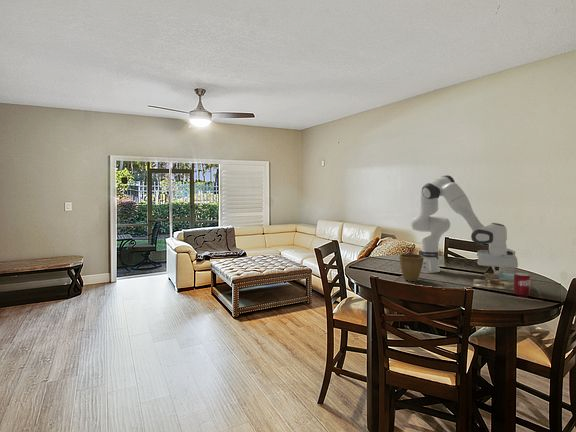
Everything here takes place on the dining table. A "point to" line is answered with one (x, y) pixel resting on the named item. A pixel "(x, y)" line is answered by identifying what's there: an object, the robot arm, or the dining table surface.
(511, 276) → the lid
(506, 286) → the board
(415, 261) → the plant pot
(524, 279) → the soda can
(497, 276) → the block
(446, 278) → the dining table surface
